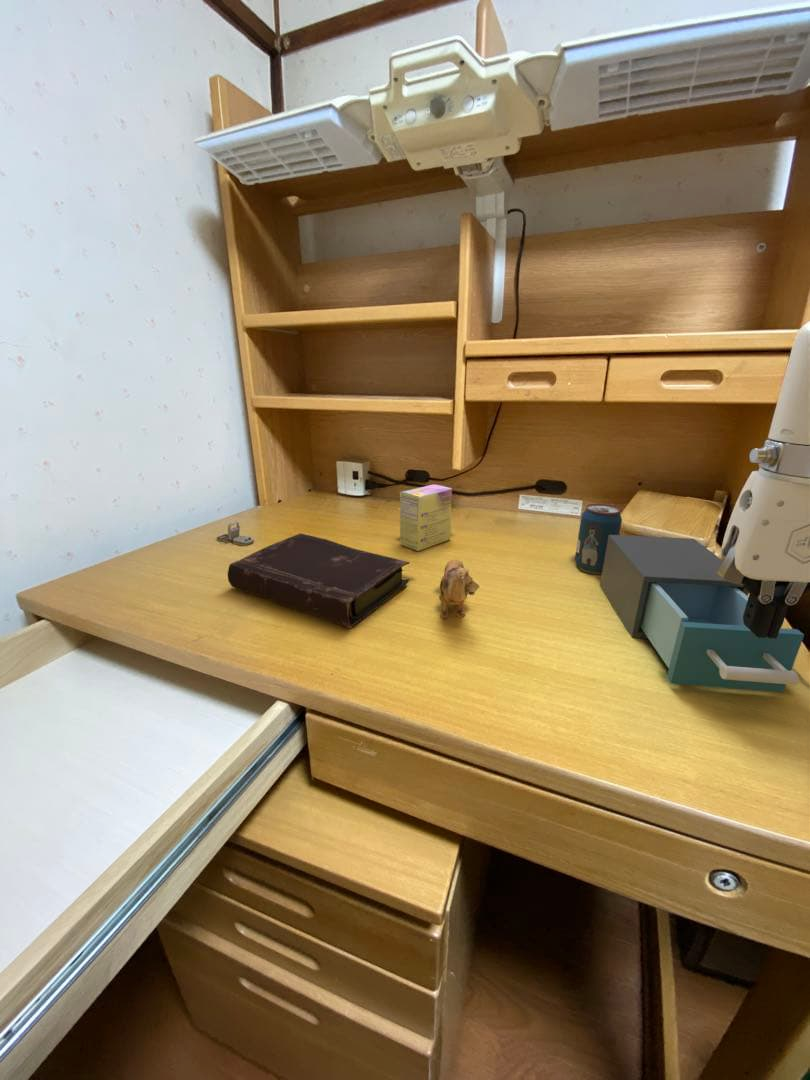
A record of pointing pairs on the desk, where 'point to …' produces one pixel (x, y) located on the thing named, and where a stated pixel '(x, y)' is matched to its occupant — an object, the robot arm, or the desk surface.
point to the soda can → (596, 536)
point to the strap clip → (235, 536)
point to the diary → (320, 577)
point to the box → (425, 516)
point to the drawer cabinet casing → (653, 571)
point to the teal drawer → (715, 639)
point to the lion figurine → (455, 587)
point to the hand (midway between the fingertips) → (759, 630)
